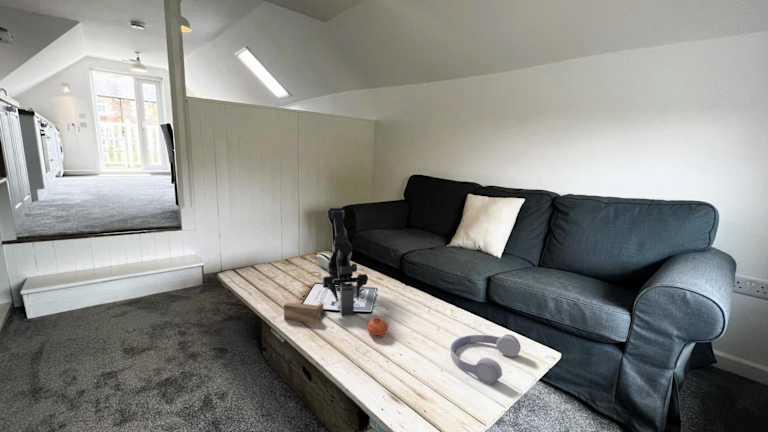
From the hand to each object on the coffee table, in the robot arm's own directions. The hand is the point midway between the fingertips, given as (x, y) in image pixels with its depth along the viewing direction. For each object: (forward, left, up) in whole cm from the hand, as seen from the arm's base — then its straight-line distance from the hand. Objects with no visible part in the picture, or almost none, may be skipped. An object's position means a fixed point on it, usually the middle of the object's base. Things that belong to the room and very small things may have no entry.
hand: (347, 299), depth 142 cm
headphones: (+56, +1, -7) cm, 56 cm away
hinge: (-46, +39, -7) cm, 61 cm away
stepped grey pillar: (-1, +1, -7) cm, 7 cm away
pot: (+19, -6, -7) cm, 21 cm away
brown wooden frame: (-14, -9, -7) cm, 18 cm away
